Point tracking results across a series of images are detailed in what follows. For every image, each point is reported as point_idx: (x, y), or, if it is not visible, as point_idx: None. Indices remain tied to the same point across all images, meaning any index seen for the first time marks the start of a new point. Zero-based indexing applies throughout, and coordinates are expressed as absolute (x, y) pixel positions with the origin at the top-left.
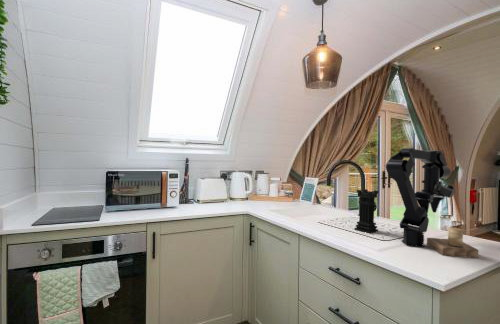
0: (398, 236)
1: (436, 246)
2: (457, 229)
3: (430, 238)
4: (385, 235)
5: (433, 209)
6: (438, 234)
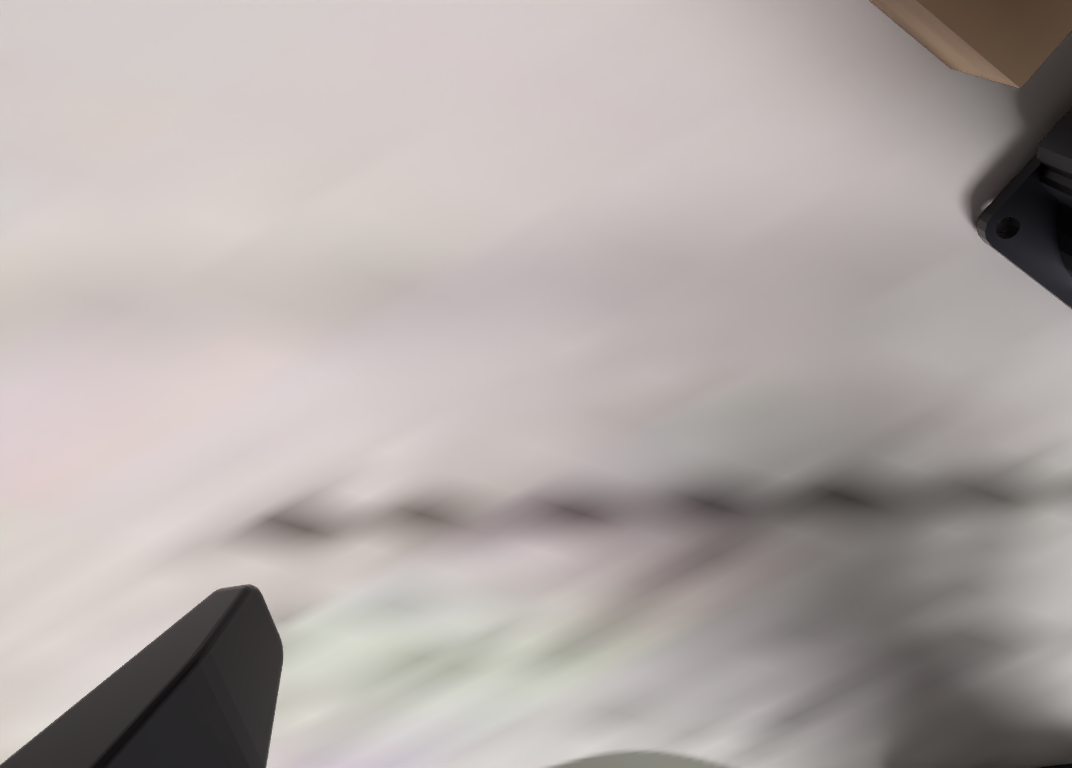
0: (877, 547)
1: None
2: None
3: (1026, 13)
4: (1011, 640)
5: (242, 729)
6: (45, 385)
